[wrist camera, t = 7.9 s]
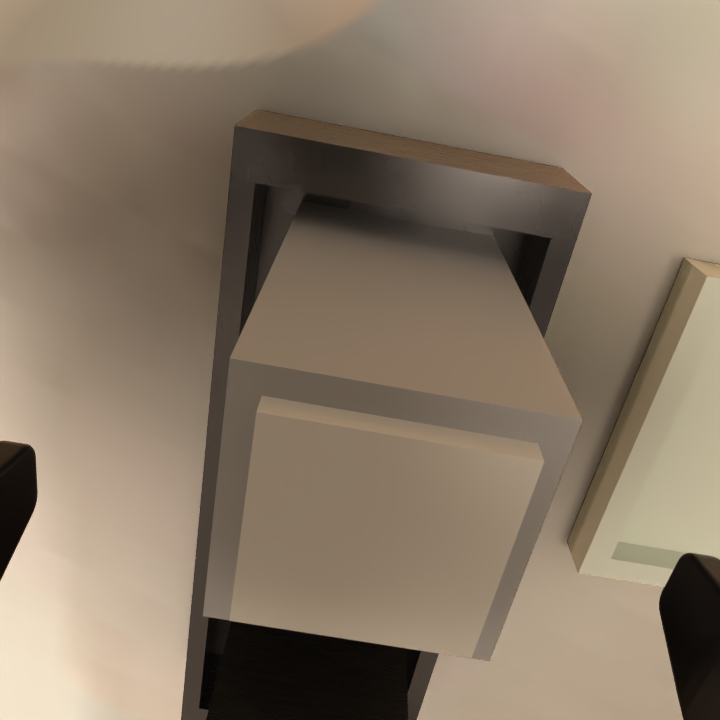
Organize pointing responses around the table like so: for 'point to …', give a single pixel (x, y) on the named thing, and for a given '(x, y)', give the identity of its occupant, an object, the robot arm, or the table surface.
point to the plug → (385, 439)
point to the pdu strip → (236, 299)
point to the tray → (662, 448)
